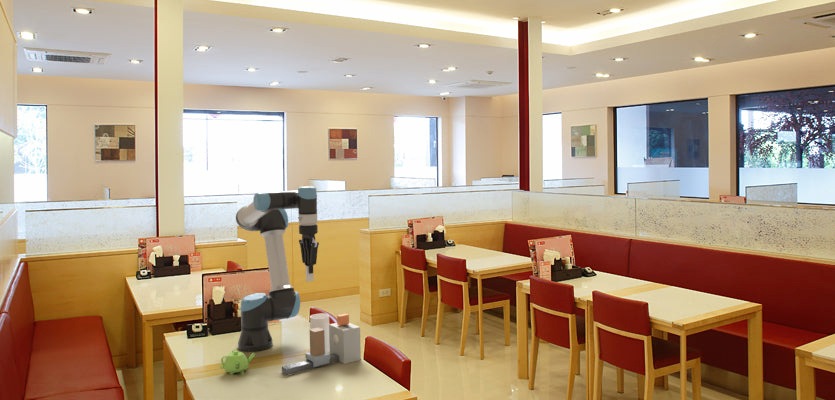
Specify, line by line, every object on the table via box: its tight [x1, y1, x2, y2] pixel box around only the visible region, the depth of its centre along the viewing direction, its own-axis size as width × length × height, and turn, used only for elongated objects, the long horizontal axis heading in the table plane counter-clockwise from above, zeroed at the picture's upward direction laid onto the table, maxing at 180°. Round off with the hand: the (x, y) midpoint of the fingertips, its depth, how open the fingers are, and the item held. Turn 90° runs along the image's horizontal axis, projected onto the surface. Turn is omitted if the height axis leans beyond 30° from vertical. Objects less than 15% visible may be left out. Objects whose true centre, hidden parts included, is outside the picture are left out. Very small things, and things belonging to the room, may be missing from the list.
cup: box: [309, 312, 330, 354], centre depth 254 cm, size 8×8×16 cm
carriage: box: [305, 328, 330, 367], centre depth 237 cm, size 8×7×14 cm
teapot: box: [219, 350, 256, 376], centre depth 232 cm, size 11×12×8 cm
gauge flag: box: [336, 313, 350, 326], centre depth 245 cm, size 2×4×4 cm, turn 129°
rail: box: [281, 353, 340, 376], centre depth 236 cm, size 4×24×2 cm, turn 129°
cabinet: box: [329, 322, 362, 365], centre depth 245 cm, size 12×8×14 cm
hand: (309, 280), depth 239 cm, fingers closed
